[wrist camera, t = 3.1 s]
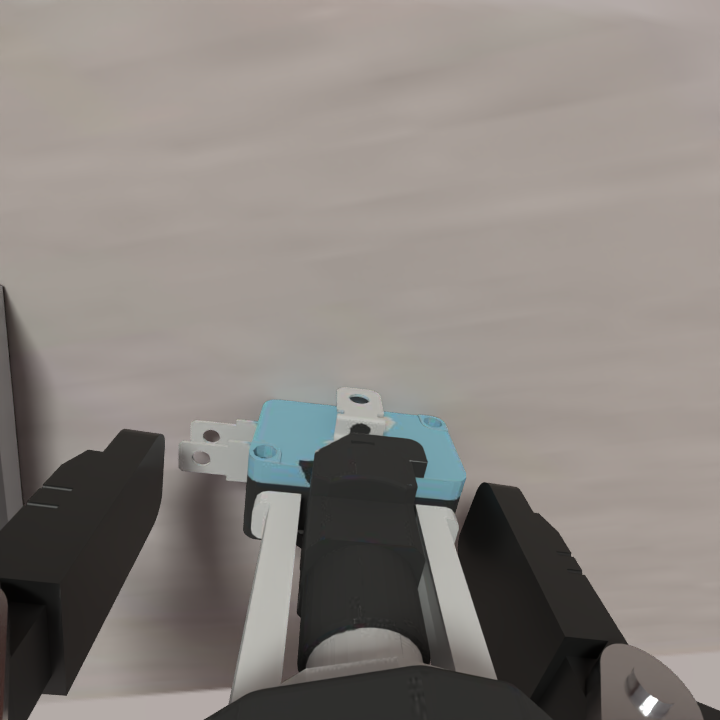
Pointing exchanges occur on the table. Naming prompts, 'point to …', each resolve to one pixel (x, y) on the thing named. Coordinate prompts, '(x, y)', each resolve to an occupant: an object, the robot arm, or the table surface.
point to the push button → (355, 567)
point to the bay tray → (7, 433)
